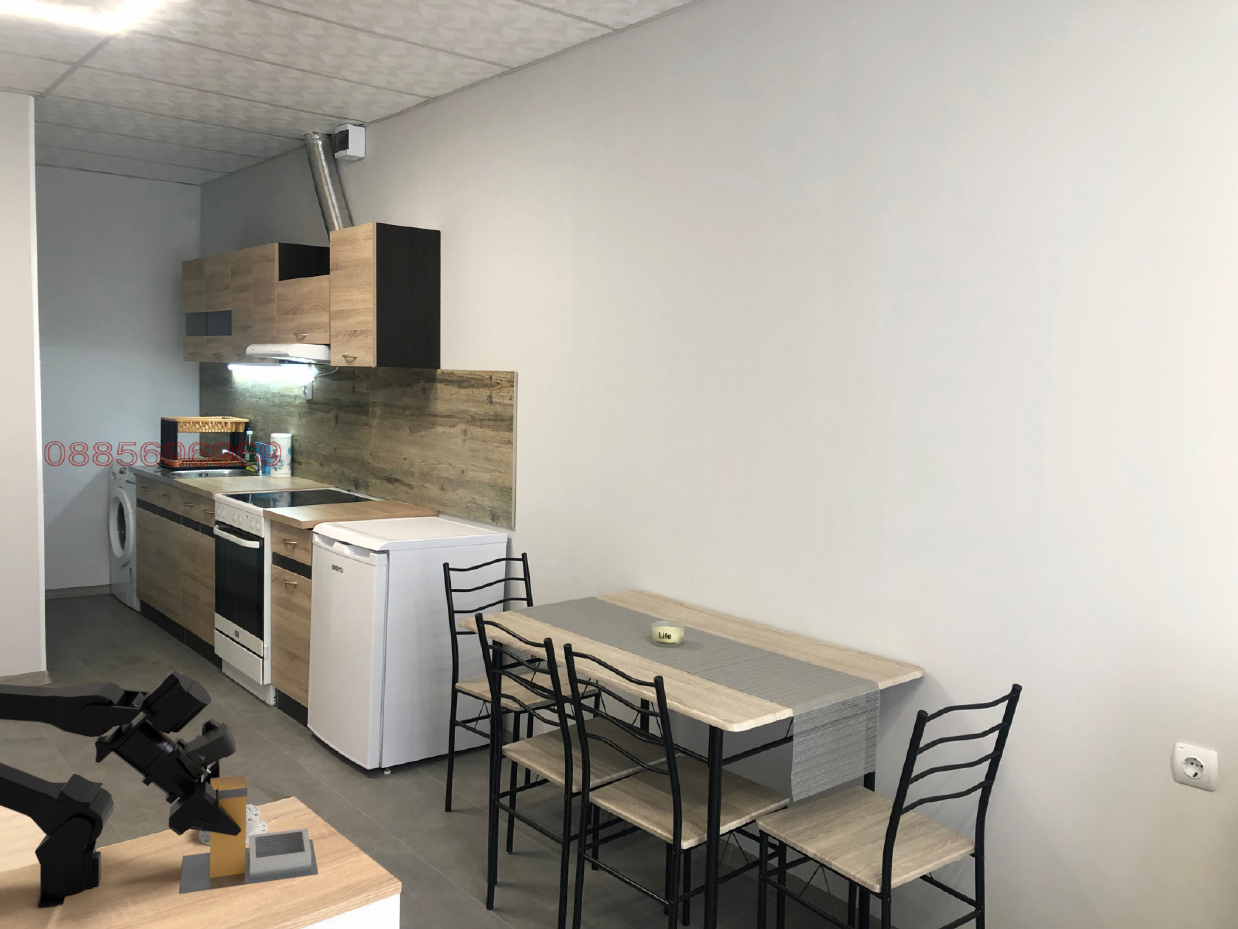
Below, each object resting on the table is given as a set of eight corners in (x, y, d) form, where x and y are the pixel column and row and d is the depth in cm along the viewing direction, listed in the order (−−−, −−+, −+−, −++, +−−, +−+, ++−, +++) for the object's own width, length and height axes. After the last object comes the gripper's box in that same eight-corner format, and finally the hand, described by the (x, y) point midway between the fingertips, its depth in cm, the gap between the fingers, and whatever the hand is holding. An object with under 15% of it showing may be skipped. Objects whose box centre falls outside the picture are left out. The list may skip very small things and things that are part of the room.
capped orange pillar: (208, 878, 132) (210, 792, 131) (209, 862, 137) (210, 778, 136) (245, 873, 134) (247, 787, 133) (244, 857, 138) (246, 774, 138)
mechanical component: (185, 840, 145) (219, 862, 139) (186, 812, 145) (220, 833, 139) (245, 819, 153) (280, 839, 147) (246, 793, 153) (281, 811, 147)
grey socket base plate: (179, 900, 128) (179, 876, 128) (183, 862, 138) (183, 839, 138) (318, 880, 135) (318, 857, 135) (312, 845, 145) (312, 823, 145)
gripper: (197, 734, 123) (285, 805, 128) (201, 690, 141) (278, 755, 146) (129, 799, 121) (221, 870, 126) (142, 747, 138) (222, 811, 143)
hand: (238, 822), depth 135 cm, fingers open, 7 cm apart
